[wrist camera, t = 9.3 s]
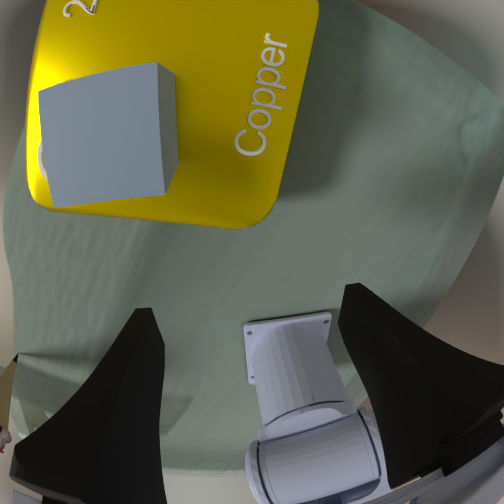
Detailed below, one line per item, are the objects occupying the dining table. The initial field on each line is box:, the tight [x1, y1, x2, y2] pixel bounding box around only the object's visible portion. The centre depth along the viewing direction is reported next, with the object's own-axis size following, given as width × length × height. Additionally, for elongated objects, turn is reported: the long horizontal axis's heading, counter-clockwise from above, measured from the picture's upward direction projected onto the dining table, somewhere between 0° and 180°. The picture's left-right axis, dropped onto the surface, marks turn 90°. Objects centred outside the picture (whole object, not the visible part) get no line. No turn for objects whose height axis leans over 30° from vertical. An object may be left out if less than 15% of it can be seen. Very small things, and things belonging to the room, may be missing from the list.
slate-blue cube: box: [38, 62, 179, 208], centre depth 10 cm, size 4×4×4 cm
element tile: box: [25, 0, 319, 229], centre depth 13 cm, size 15×15×5 cm
